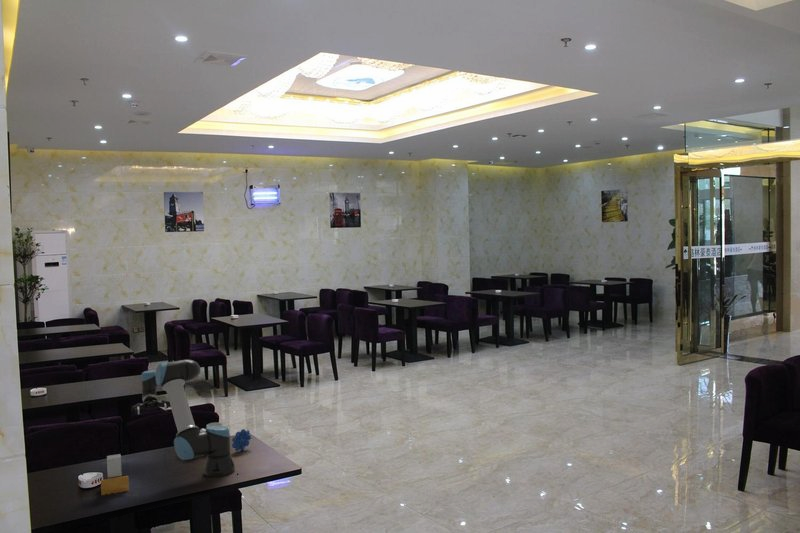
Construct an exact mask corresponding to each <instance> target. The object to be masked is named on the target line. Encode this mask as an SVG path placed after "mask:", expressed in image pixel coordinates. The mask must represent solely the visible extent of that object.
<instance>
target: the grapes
mask: <svg viewBox="0 0 800 533" xmlns="http://www.w3.org/2000/svg"><path fill="white" fill-rule="evenodd" d="M250 434H251V433H250V430H246V429H245V428H242V429H241V430H240V431H237V432H236V433H235V436H233V437H232V439H231V442H232V444H231V447H232V449H234V450H235V452H239V451H245V449H246V447H248V446H249V445H250V441H251V439H252V435H250Z"/></svg>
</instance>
